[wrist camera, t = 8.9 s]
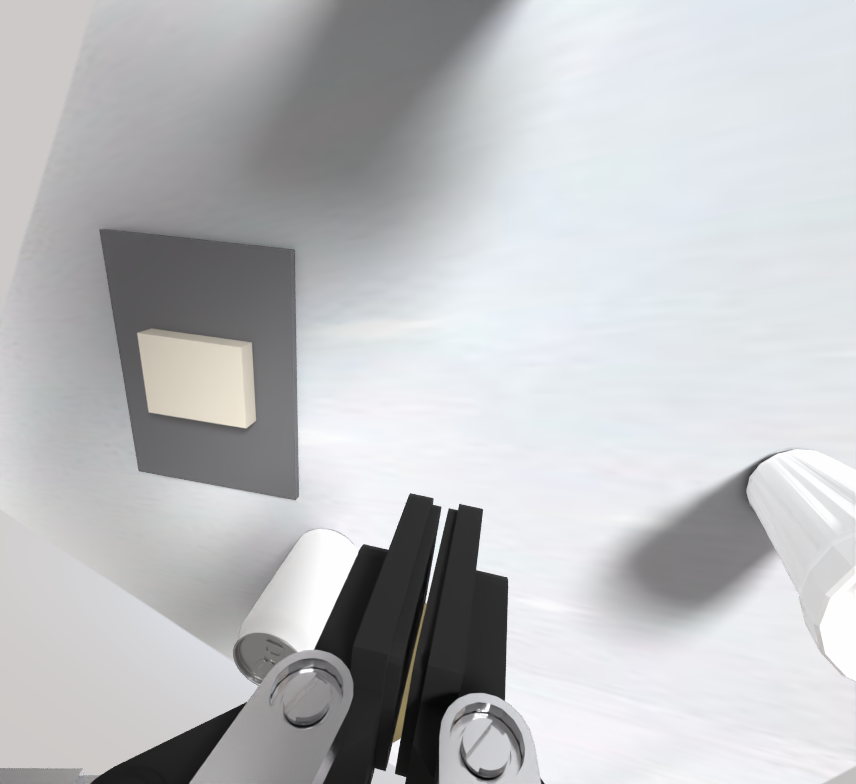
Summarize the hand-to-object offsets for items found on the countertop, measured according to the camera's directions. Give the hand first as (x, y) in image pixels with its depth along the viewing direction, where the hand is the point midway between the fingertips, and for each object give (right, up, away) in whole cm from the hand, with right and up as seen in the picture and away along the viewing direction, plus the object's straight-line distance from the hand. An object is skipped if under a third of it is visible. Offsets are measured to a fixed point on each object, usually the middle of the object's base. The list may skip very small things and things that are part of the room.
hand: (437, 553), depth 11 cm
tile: (-15, +4, +28) cm, 32 cm away
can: (-10, -12, +35) cm, 38 cm away
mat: (-19, +5, +30) cm, 36 cm away
